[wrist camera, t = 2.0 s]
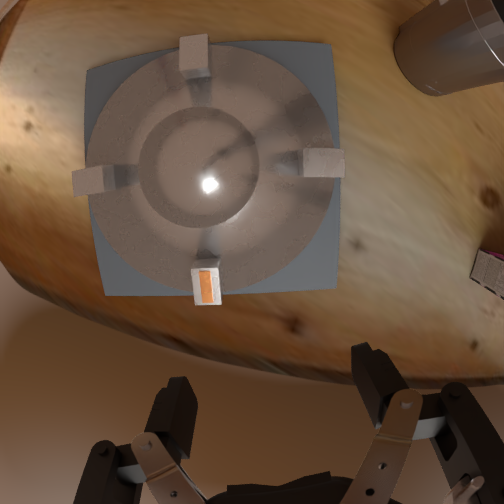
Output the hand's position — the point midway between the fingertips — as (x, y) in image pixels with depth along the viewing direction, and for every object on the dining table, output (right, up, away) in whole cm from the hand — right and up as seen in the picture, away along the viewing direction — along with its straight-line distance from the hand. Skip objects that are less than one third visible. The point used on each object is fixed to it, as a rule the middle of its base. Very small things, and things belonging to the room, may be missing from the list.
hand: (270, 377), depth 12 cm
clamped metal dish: (-5, +14, +13) cm, 20 cm away
